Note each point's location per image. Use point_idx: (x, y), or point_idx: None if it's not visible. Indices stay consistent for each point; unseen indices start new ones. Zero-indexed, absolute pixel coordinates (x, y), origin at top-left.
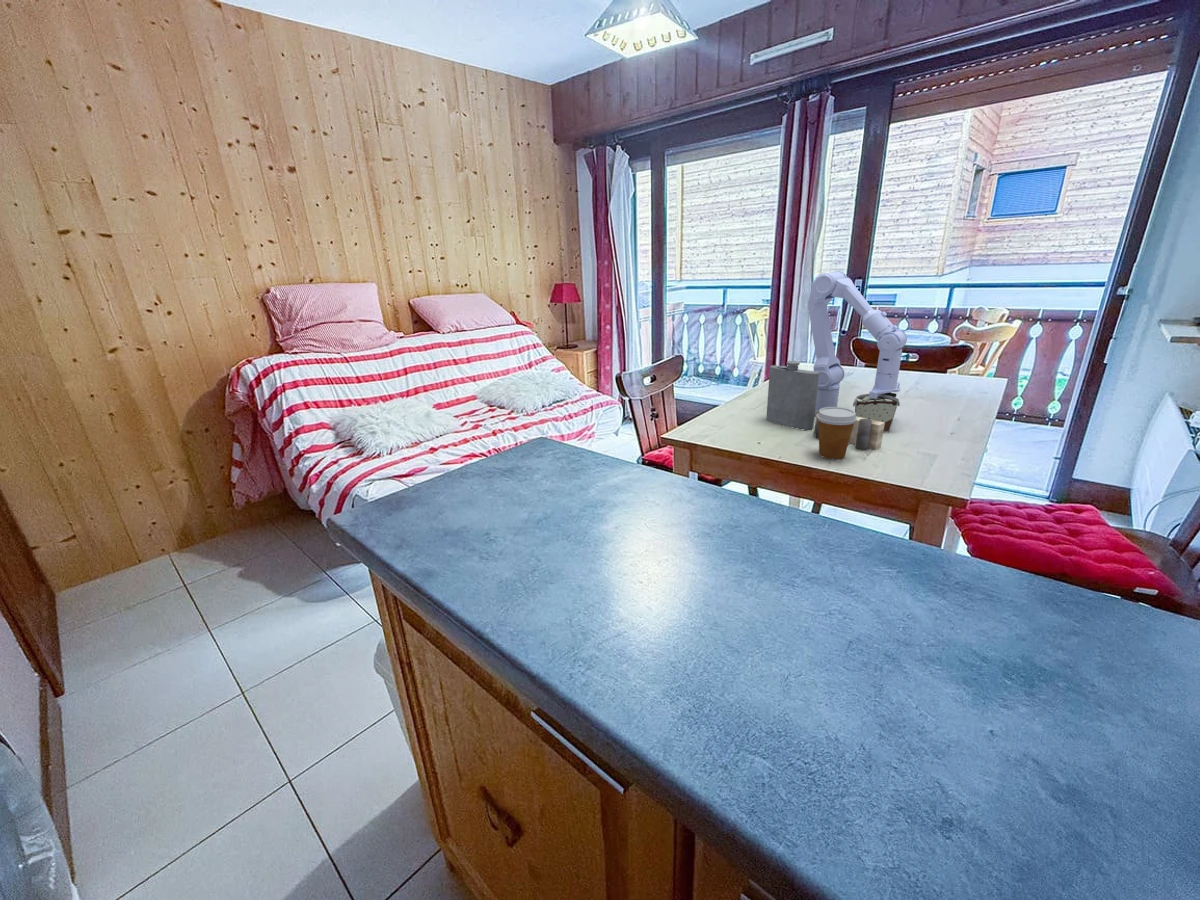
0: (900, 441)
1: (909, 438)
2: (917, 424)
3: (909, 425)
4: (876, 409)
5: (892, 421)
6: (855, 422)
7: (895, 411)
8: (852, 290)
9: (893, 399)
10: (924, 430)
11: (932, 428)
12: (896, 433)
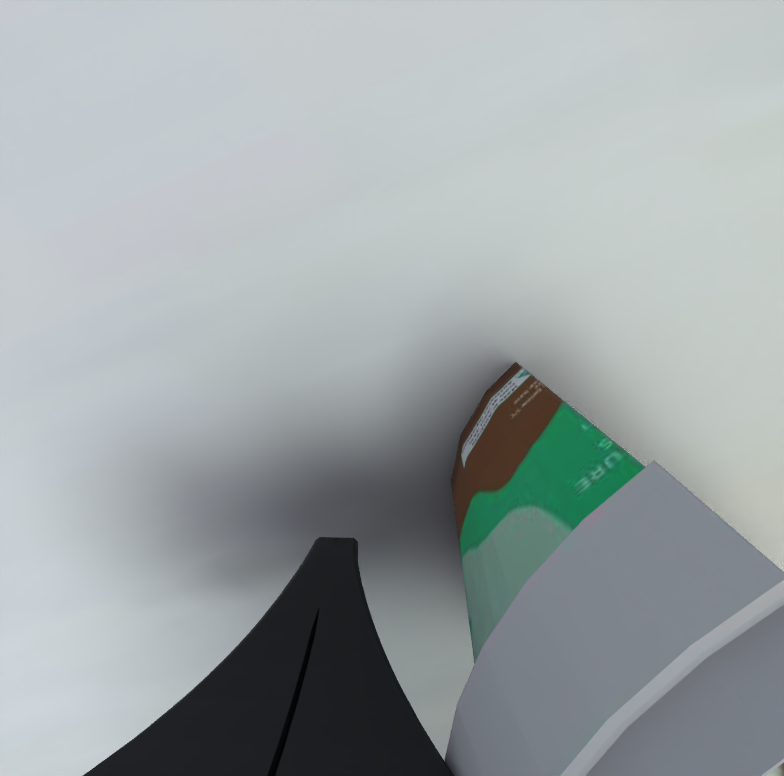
0: (756, 153)
1: (599, 116)
2: (67, 251)
3: (166, 301)
4: None
5: (549, 392)
6: None
7: (618, 446)
8: None
9: (614, 763)
10: (205, 98)
11: (59, 50)
12: (510, 295)
